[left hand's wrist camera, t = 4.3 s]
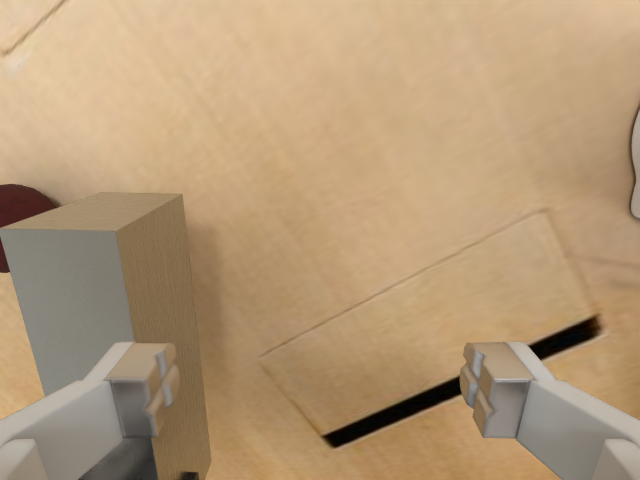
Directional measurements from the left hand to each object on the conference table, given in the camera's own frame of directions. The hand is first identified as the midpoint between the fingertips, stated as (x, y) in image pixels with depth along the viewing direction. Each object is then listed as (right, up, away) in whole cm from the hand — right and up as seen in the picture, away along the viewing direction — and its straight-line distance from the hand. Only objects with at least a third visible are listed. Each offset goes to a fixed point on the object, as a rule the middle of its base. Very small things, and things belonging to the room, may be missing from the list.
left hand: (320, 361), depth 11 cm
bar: (-13, -5, +21) cm, 25 cm away
